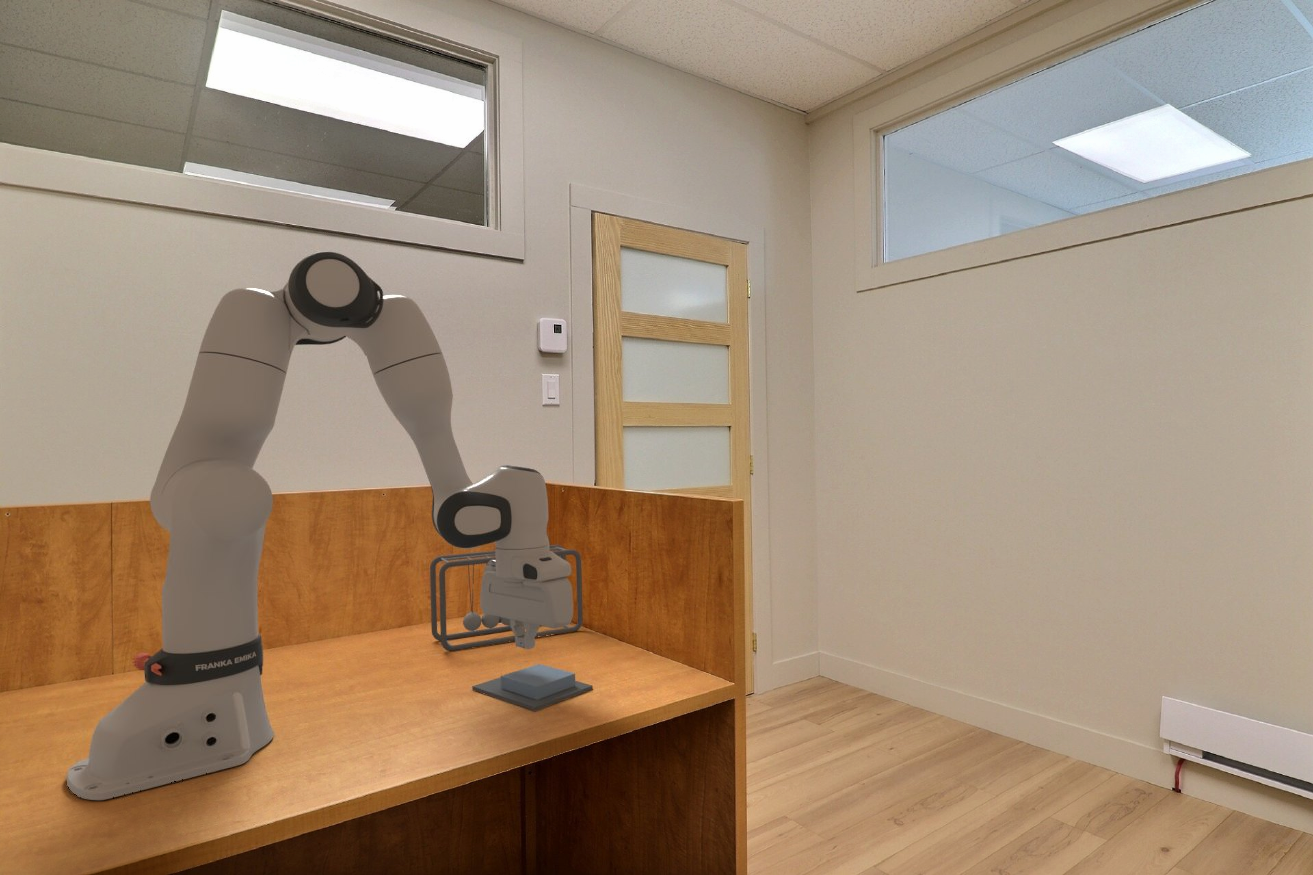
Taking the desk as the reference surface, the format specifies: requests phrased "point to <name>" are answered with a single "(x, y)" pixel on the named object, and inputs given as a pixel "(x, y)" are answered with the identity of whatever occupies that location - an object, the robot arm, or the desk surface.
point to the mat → (495, 691)
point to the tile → (538, 681)
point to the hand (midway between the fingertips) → (525, 647)
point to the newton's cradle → (489, 621)
